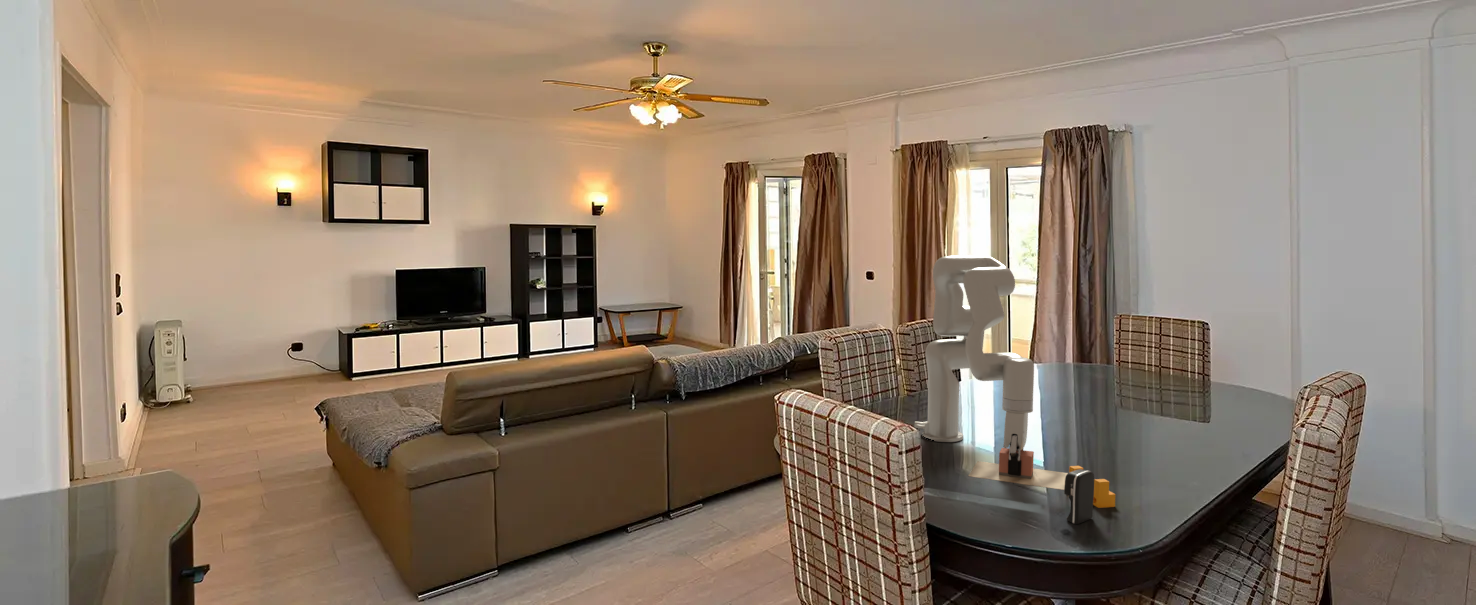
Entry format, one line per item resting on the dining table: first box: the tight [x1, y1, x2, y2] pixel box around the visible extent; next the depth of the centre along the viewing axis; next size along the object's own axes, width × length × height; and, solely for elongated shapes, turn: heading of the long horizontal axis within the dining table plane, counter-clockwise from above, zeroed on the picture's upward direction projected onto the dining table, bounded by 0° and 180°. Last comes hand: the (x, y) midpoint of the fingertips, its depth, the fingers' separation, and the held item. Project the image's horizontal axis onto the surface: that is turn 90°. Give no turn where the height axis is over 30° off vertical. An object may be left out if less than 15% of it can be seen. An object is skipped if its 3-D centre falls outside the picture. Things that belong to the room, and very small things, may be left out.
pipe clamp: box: [1068, 465, 1117, 509], centre depth 180 cm, size 12×4×6 cm, turn 8°
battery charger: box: [1063, 468, 1095, 525], centre depth 166 cm, size 7×4×11 cm, turn 124°
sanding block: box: [998, 447, 1035, 479], centre depth 193 cm, size 8×5×6 cm, turn 63°
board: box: [967, 460, 1069, 497], centre depth 193 cm, size 24×14×2 cm, turn 62°
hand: (1015, 471), depth 193 cm, fingers closed on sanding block, 5 cm apart
